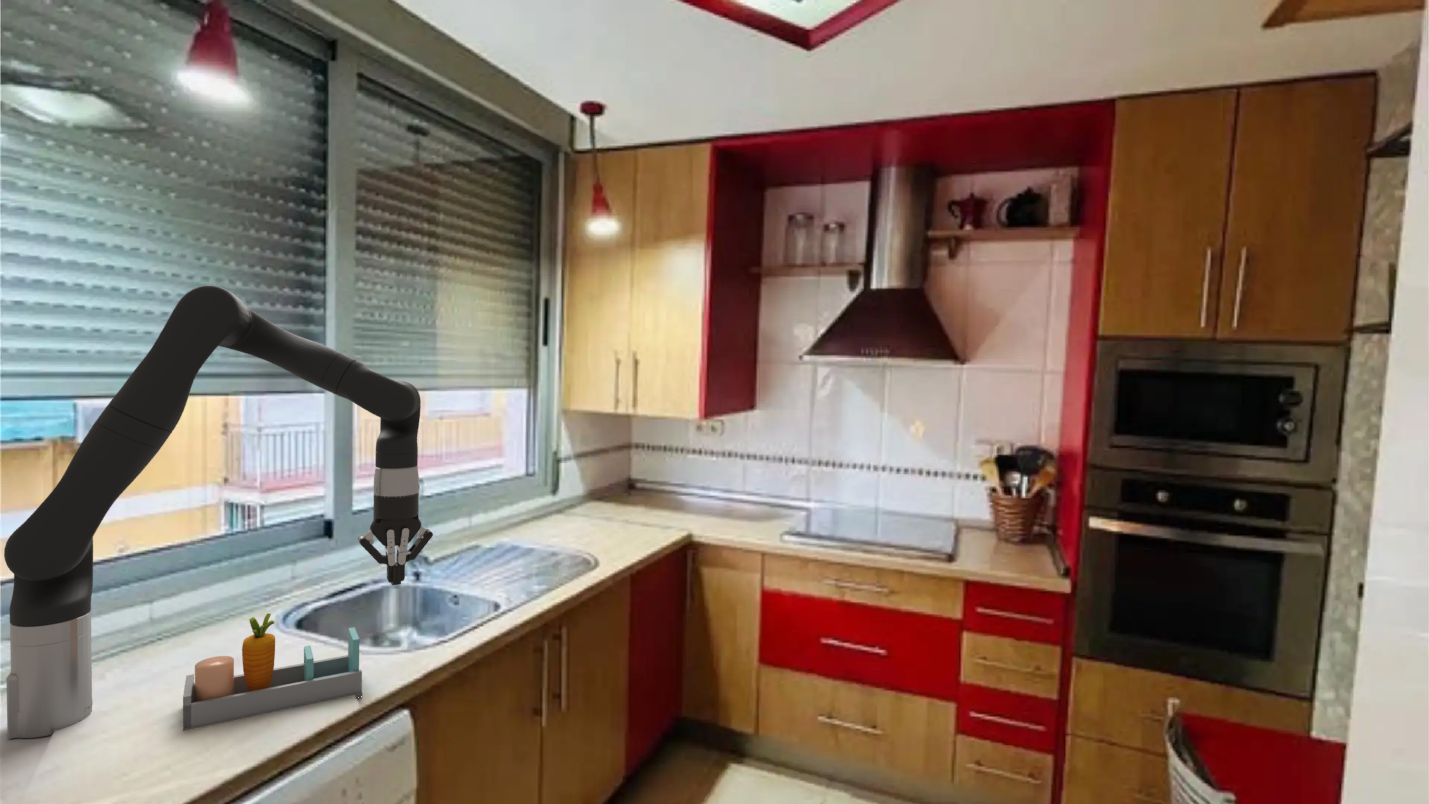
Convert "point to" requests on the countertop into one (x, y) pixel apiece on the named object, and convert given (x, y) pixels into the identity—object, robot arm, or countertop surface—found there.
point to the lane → (273, 693)
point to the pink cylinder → (214, 678)
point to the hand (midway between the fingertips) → (395, 583)
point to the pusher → (352, 656)
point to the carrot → (258, 655)
